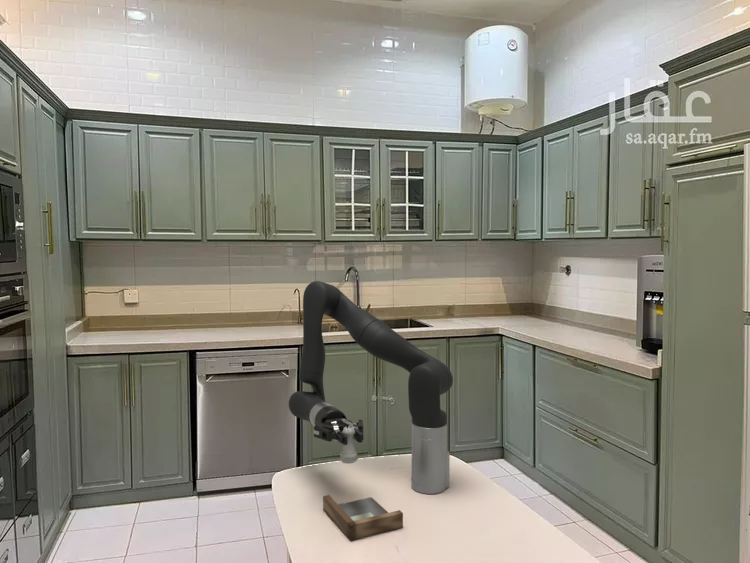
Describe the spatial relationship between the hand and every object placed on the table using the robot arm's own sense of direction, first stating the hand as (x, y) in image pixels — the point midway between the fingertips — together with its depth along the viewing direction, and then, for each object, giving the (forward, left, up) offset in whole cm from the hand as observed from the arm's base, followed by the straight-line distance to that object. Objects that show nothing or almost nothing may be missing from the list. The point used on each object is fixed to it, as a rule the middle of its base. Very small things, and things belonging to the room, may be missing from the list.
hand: (353, 439), depth 129 cm
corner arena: (-1, +4, -18) cm, 18 cm away
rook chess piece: (0, -3, -6) cm, 7 cm away
